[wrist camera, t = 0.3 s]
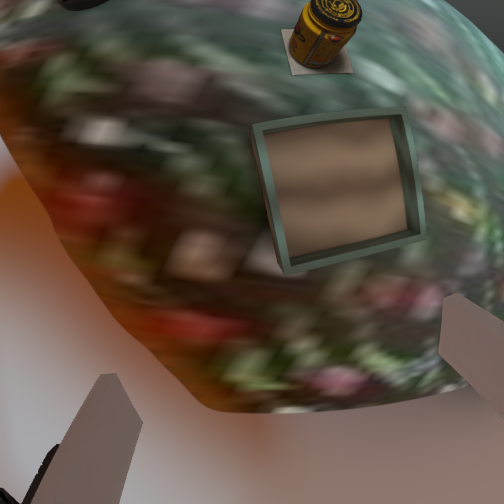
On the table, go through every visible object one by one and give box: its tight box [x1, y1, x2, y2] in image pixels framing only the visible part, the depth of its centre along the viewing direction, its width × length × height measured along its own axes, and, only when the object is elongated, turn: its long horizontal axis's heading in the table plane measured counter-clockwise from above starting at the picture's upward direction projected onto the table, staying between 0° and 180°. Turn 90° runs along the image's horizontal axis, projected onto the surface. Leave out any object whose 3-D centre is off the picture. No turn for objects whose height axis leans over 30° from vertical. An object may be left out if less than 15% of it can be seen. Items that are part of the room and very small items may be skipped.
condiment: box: [281, 0, 362, 75], centre depth 26 cm, size 7×8×12 cm
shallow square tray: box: [249, 107, 427, 276], centre depth 32 cm, size 15×17×8 cm
